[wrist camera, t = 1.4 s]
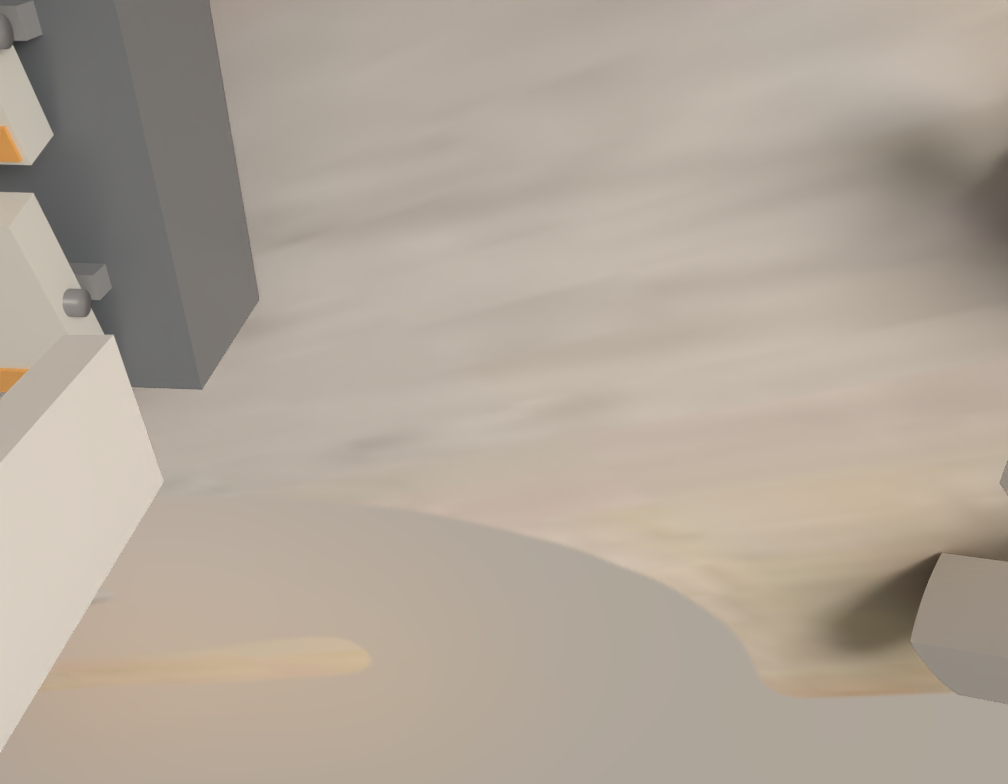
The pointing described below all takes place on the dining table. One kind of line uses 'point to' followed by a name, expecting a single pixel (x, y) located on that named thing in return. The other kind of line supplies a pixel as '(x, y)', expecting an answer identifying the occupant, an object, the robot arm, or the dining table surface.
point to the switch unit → (140, 176)
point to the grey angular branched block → (966, 626)
